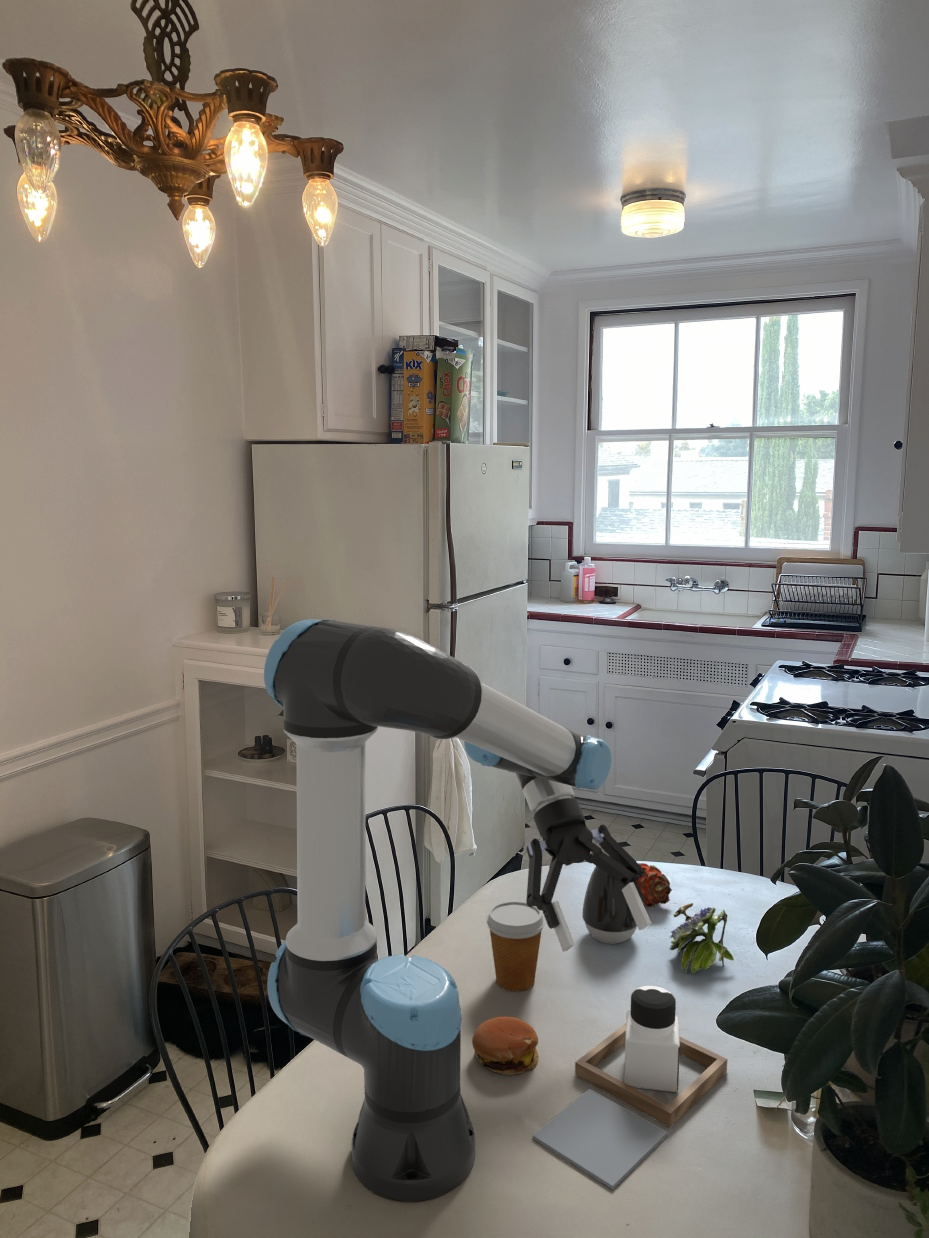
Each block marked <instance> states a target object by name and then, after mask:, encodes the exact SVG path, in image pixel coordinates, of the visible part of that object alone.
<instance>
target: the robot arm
mask: <svg viewBox="0 0 929 1238" xmlns="http://www.w3.org/2000/svg"><path fill="white" fill-rule="evenodd" d="M264 662H265V663H264V666H263V682H264V688H265V690H266V692H267V693H268V696H270V697H271V698H272V700H273V702H275V703H276V704H277V705H278V706H279V707H281V708H282V709H283V732H284V733H285V735H287V737H289V738H290V739H291V741H293V742H294V743H295V744H296V749H295V750H296V851H297V852H296V873H297V874H296V878H297V880H296V883H297V886H296V889H297V893H296V894H297V895H296V896H297V898H296V899H297V901H296V902H297V906H296V907H297V922H296V923H295V925H294V926H292V928H290V930H289V931H288V932H287V933H286V937H285V941H283V943H282V944H281V945H280V947H279V948H278V949H277V950H276V953H275V954H274V955H275V957H276V959H275V961H274V962H271V964H270V967H269V969H268V975H267V986H266V987H267V994H268V995H267V996H268V1001H269V1003H270V1006H271V1008H272V1010H273V1012H274V1013H275V1014H276V1016H277V1017H278V1018H279V1019H280V1020H281V1021H282V1022H284V1023H285V1024H286V1025H288V1026H289V1028H291V1029H292V1030H293V1031H295V1032H297V1033H299V1034H300V1035H302V1036H304V1037H309V1038H311V1039H312V1040H315V1041H316V1042H318V1043H320V1044H322V1045H324V1046H326V1047H327V1048H329V1049H331V1050H333V1051H335V1052H336V1053H339V1054H341V1055H342V1056H344V1057H345V1058H348V1059H350V1060H352V1061H353V1062H355V1063H357V1064H358V1065H360V1066H361V1067H362V1068H363V1079H364V1080H363V1081H364V1099H363V1101H362V1105H361V1108H360V1111H359V1115H358V1119H357V1120H358V1121H357V1123H356V1125H355V1127H354V1130H353V1134H352V1137H351V1164H352V1165H351V1166H352V1168H353V1171H354V1174H355V1176H356V1177H357V1179H358V1180H359V1181H360V1183H362V1185H363V1186H364V1187H366V1188H367V1189H368V1190H370V1191H371V1192H372V1193H374V1194H376V1195H378V1196H381V1197H383V1198H387V1199H389V1200H394V1201H399V1202H419V1201H425V1200H430V1199H434V1198H437V1197H440V1196H442V1195H444V1194H446V1193H449V1192H450V1191H452V1190H454V1189H455V1188H456V1187H458V1186H459V1185H460V1184H461V1183H462V1182H463V1181H464V1180H465V1179H466V1178H467V1176H468V1175H469V1174H470V1172H471V1170H472V1168H473V1167H474V1164H475V1159H476V1135H475V1129H474V1126H473V1124H472V1120H471V1118H470V1115H469V1112H468V1110H467V1106H466V1104H465V1101H464V1098H463V1096H462V1093H461V1056H462V1055H461V1049H462V1047H461V1045H462V1044H461V1042H462V1041H461V1037H462V1034H461V1032H462V1031H461V1029H462V1018H463V1017H462V1010H461V1005H460V994H459V993H460V992H459V989H458V984H456V981H455V979H454V978H453V976H452V974H451V973H450V972H449V971H448V970H446V968H445V967H443V966H442V965H440V964H439V963H437V962H435V961H433V960H432V959H428V958H427V957H423V956H418V955H414V954H413V955H411V957H407V956H406V955H405V954H395V955H389V956H386V957H383V958H381V959H378V939H377V938H378V937H377V936H378V932H377V930H376V928H375V927H374V925H372V924H371V923H370V922H369V921H367V920H366V772H367V771H366V769H367V768H366V753H367V752H366V748H367V747H366V745H367V741H368V740H369V739H370V738H371V737H372V736H373V735H374V734H375V733H376V732H377V731H378V729H379V728H380V727H381V728H388V729H396V730H402V731H404V730H405V731H409V732H415V733H418V734H419V733H420V734H425V735H426V736H430V737H433V738H435V739H436V740H437V739H438V740H450V739H454V738H456V739H459V740H461V741H463V745H464V750H465V753H466V754H467V756H468V757H469V758H470V759H471V760H472V761H474V762H476V763H479V764H480V765H481V766H486V767H490V768H495V769H497V770H498V769H500V770H503V771H506V772H509V773H510V772H511V773H514V774H515V775H516V776H515V777H516V778H517V780H518V783H519V785H520V787H521V791H522V792H523V794H524V797H525V800H526V802H527V805H528V808H529V810H530V812H531V814H533V820H534V823H535V826H536V829H537V831H538V833H539V835H540V837H541V838H542V840H539V839H537V838H533V839H532V840H531V841H530V842H529V843H528V845H527V846H526V852H527V855H528V861H529V862H528V872H527V887H526V901H525V902H526V904H527V905H528V906H529V907H532V906H536V907H537V909H538V910H540V911H541V912H542V915H543V917H544V919H545V923H546V924H547V926H548V928H549V929H550V930H552V929H554V932H555V935H556V937H557V940H558V942H559V945H560V947H561V949H562V952H568V951H569V950H570V949H571V948H572V947H574V946H575V941H574V939H573V936H572V933H571V931H570V927H569V926H568V923H567V921H566V918H565V916H564V913H563V910H562V908H561V904H560V903H559V902H560V901H558V900H556V901H553V898H554V894H555V892H556V888H557V886H558V882H559V878H560V876H561V873H562V869H563V866H564V865H565V867H567V866H571V865H572V864H575V863H576V864H580V863H581V864H582V863H583V862H584V861H585V862H587V863H589V864H593V865H594V866H595V867H596V866H597V867H599V868H600V869H601V870H603V871H604V872H606V873H607V874H609V875H610V876H611V877H613V878H614V879H616V880H617V881H619V882H620V883H621V884H623V885H624V886H625V887H624V888H623V889H622V892H623V894H624V897H625V899H626V901H627V903H628V906H629V908H630V910H631V913H632V915H633V917H634V920H635V922H636V924H637V929H638V931H642V930H644V929H646V928H647V927H648V926H650V925H651V924H652V921H651V919H650V916H649V914H648V912H647V910H646V906H645V904H643V903H644V902H645V898H644V896H643V894H642V891H641V889H640V887H639V885H638V879H640V878H641V877H642V876H643V875H644V874H645V870H644V869H643V868H642V867H641V866H640V865H639V864H638V861H636V860H635V858H634V857H632V855H630V853H628V852H627V850H625V849H624V847H623V846H622V845H620V843H619V842H618V841H617V840H616V839H615V838H614V837H613V836H612V835H611V833H610V831H609V829H608V828H607V826H606V825H605V824H600V825H599V826H598V827H597V828H595V829H592V830H591V829H589V828H588V826H587V825H586V824H587V823H586V819H585V816H584V815H585V814H584V813H583V811H582V809H581V806H580V804H579V801H578V800H577V799H575V795H576V793H575V792H574V789H573V787H575V788H576V789H586V790H592V791H594V790H598V789H600V788H601V787H602V786H603V785H604V784H605V783H606V781H607V780H608V778H609V775H610V771H611V767H612V758H613V757H612V752H611V751H612V750H611V748H610V745H609V744H608V743H607V742H606V741H605V740H604V739H601V738H597V737H593V736H592V735H589V734H588V735H583V734H579V733H576V732H574V731H572V730H571V729H568V728H566V727H564V726H562V725H561V724H559V723H557V722H555V721H553V720H551V719H549V718H547V717H546V716H544V715H542V714H540V713H538V712H536V711H534V710H533V709H531V708H529V707H527V706H525V705H524V704H522V703H519V701H516V700H514V699H512V698H510V697H509V696H507V695H506V694H503V693H501V692H499V691H498V690H496V689H494V688H492V687H490V686H488V685H487V684H485V683H483V682H482V681H481V679H480V676H479V675H478V673H477V672H476V670H474V669H473V668H472V667H470V666H469V665H467V664H466V663H464V662H462V661H460V660H459V659H457V658H456V657H454V656H451V655H450V654H447V653H446V652H444V651H442V650H440V649H439V648H437V647H436V646H433V645H432V644H430V643H427V642H425V641H424V640H422V639H421V638H418V637H417V636H414V635H412V634H409V633H406V632H404V631H401V630H399V629H395V628H391V627H384V626H372V625H366V624H359V623H352V622H346V621H341V620H340V621H339V620H335V619H325V618H324V619H303V620H300V621H297V622H294V623H293V624H291V625H289V626H287V627H286V628H285V629H284V630H283V631H282V632H281V633H280V635H279V636H278V638H277V639H275V640H274V641H273V642H272V645H271V646H270V648H269V649H268V653H267V654H266V658H265V661H264ZM378 727H379V728H378ZM593 841H594V842H593ZM597 844H598V845H599V846H598V845H597ZM544 852H546V853H548V854H549V855H550V856H551V859H550V864H549V866H548V868H549V869H548V872H547V875H546V878H545V881H544V884H543V887H542V886H541V885H542V884H541V883H542V873H543V871H542V870H543V869H542V868H543V854H544ZM609 856H610V857H609ZM541 887H542V890H541Z"/></svg>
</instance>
